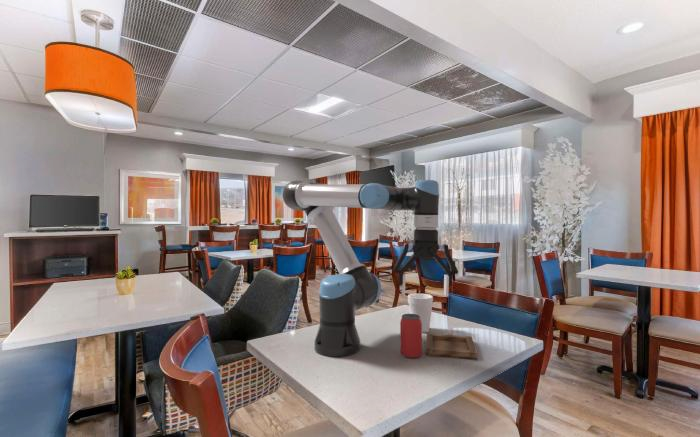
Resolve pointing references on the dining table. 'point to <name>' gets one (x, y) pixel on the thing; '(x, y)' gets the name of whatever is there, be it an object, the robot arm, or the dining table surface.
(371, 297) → the robot arm
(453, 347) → the wooden tray
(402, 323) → the beer can
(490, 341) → the dining table surface
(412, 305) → the foam cup
